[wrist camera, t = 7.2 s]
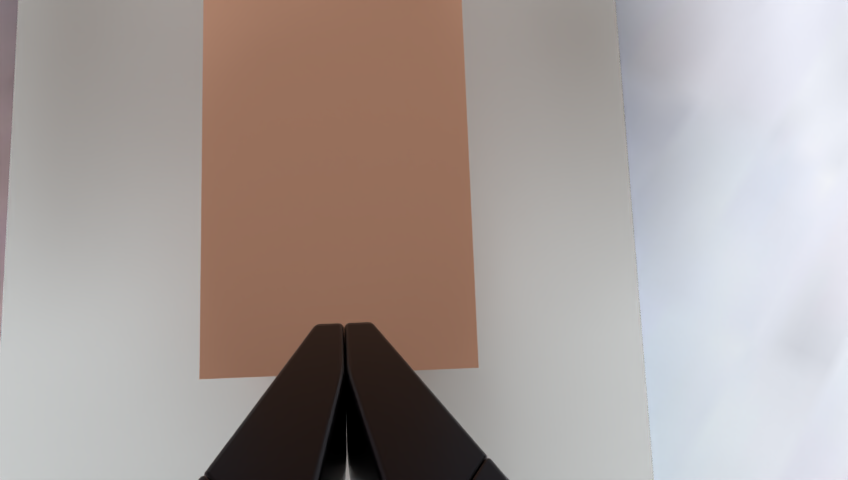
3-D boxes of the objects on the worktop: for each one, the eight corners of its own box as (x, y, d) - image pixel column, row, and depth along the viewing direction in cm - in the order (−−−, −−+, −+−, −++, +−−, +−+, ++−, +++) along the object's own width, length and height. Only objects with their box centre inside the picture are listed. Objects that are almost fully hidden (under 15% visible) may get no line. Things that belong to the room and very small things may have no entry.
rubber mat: (664, 737, 18) (675, 750, 17) (-12, 813, 16) (-25, 832, 15) (596, -127, 21) (603, -140, 21) (36, -156, 19) (27, -172, 19)
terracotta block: (478, 367, 13) (446, -338, 15) (199, 379, 12) (207, -359, 14) (439, 361, 18) (419, -170, 20) (238, 369, 17) (240, -180, 19)
